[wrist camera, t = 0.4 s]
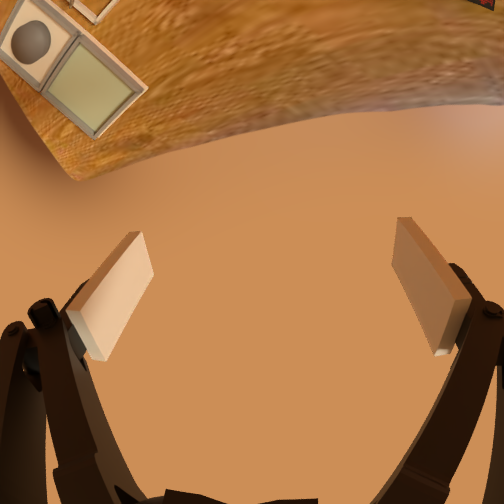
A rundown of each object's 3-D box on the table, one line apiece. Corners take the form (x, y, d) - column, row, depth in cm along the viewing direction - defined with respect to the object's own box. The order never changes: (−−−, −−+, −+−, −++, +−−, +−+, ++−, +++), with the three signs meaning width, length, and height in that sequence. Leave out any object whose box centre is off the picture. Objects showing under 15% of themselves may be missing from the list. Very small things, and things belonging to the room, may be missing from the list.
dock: (-1, 45, 29) (-12, 53, 27) (32, -15, 22) (19, -10, 20) (101, 134, 46) (93, 144, 44) (148, 87, 39) (140, 97, 37)
